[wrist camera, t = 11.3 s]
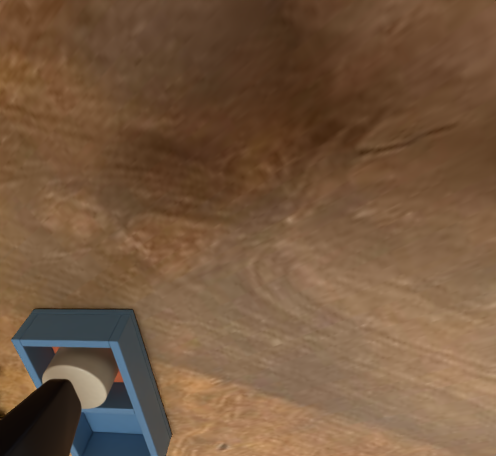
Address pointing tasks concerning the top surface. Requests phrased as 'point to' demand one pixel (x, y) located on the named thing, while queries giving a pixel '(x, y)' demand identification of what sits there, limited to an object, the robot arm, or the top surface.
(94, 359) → the cylinder
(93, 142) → the top surface
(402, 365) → the top surface
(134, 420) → the divided tray
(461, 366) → the top surface
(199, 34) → the top surface
